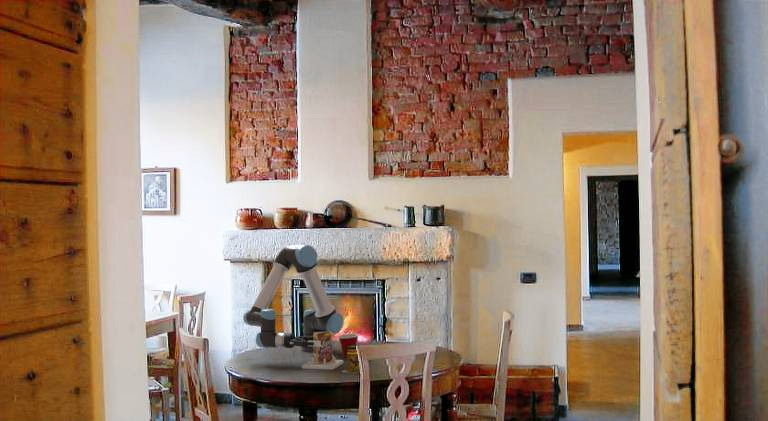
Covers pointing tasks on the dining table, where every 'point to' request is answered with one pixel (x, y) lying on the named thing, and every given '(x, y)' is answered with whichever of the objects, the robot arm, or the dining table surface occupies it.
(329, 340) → the candy box
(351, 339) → the plastic cup
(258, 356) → the dining table surface
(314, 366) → the caddy tray
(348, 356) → the condiment
